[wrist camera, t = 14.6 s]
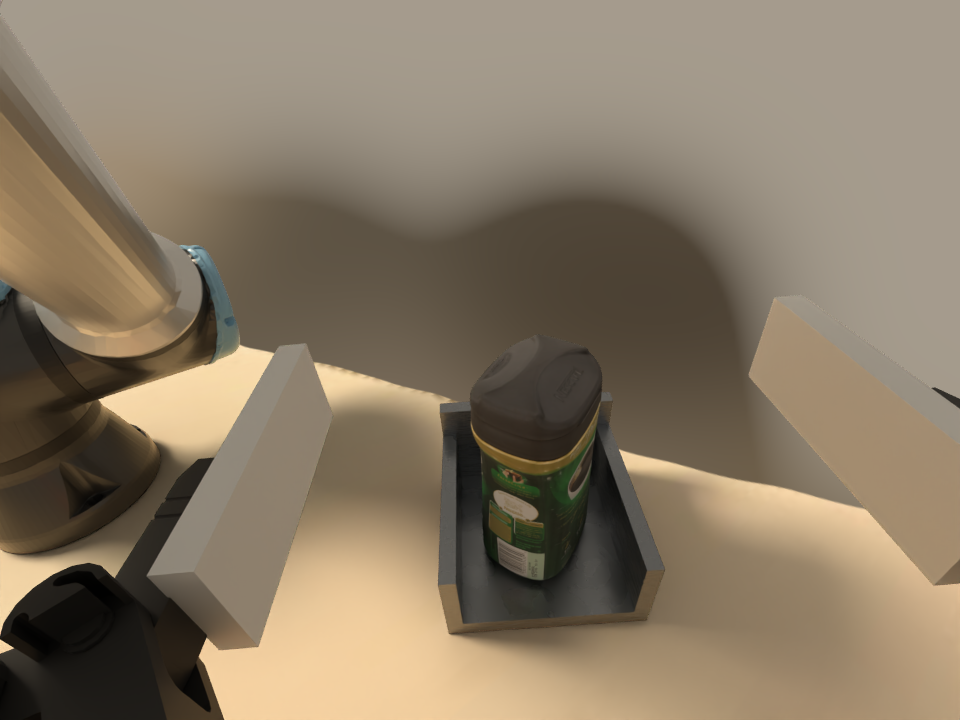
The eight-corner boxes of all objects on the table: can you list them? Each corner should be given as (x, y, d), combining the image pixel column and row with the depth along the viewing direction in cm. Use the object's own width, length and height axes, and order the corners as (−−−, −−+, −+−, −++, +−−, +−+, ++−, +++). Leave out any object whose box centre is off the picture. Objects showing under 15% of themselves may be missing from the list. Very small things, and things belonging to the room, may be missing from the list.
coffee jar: (519, 474, 45) (518, 315, 34) (595, 508, 41) (622, 341, 30) (467, 554, 38) (444, 388, 27) (552, 601, 35) (566, 433, 24)
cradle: (646, 620, 35) (673, 544, 28) (448, 633, 35) (432, 561, 28) (597, 468, 47) (609, 391, 40) (451, 478, 47) (440, 403, 40)
